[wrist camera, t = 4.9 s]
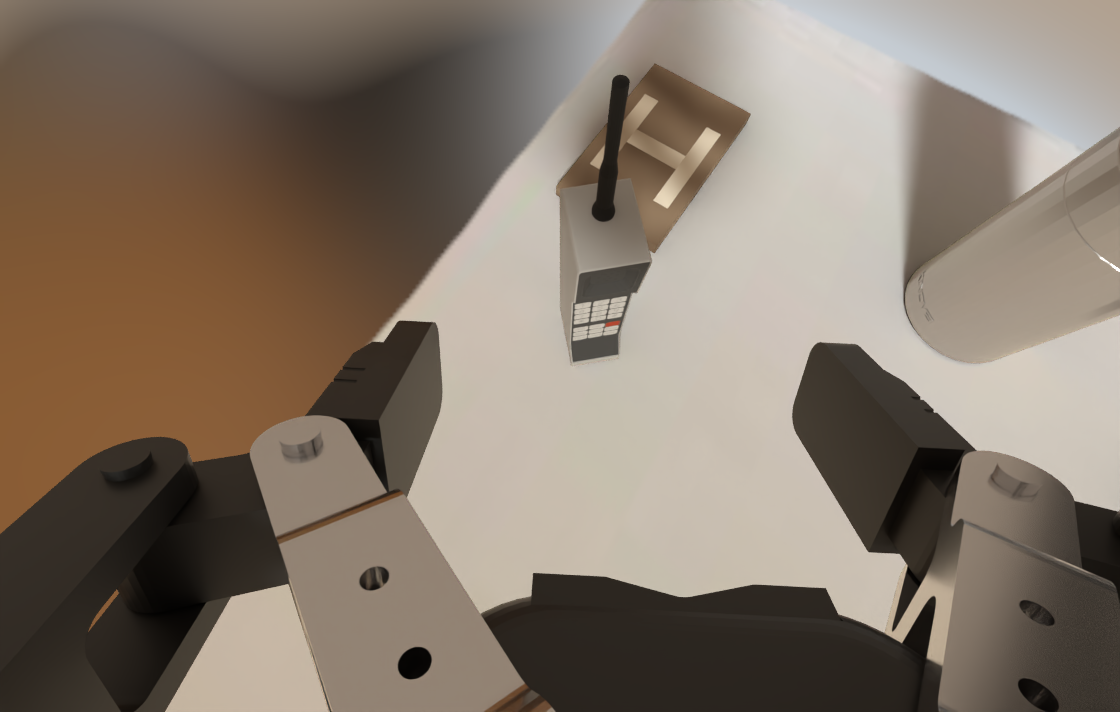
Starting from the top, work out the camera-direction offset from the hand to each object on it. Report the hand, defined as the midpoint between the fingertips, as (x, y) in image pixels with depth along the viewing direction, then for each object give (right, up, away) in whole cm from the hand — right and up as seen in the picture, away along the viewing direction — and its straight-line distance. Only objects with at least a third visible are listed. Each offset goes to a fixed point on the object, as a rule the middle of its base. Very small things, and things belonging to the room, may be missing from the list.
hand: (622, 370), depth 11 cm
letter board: (+7, +18, +35) cm, 40 cm away
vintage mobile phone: (+1, +2, +31) cm, 31 cm away
